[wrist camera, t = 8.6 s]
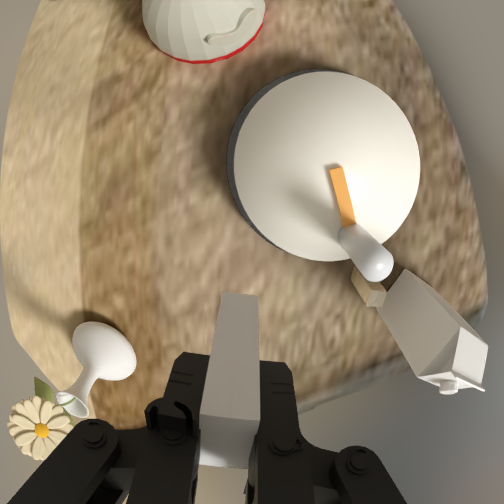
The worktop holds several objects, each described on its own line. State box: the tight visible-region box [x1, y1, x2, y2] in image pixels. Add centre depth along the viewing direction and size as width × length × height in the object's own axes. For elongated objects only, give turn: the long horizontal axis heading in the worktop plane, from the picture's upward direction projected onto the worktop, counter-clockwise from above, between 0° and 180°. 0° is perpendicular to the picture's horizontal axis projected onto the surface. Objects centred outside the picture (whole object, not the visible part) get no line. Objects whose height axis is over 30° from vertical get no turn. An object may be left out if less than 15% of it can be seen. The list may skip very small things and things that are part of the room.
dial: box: [234, 72, 420, 282], centre depth 27 cm, size 20×20×11 cm
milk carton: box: [376, 269, 488, 394], centre depth 32 cm, size 7×7×19 cm
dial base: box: [226, 69, 387, 307], centre depth 32 cm, size 25×22×7 cm
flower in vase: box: [7, 322, 136, 460], centre depth 32 cm, size 13×11×25 cm
